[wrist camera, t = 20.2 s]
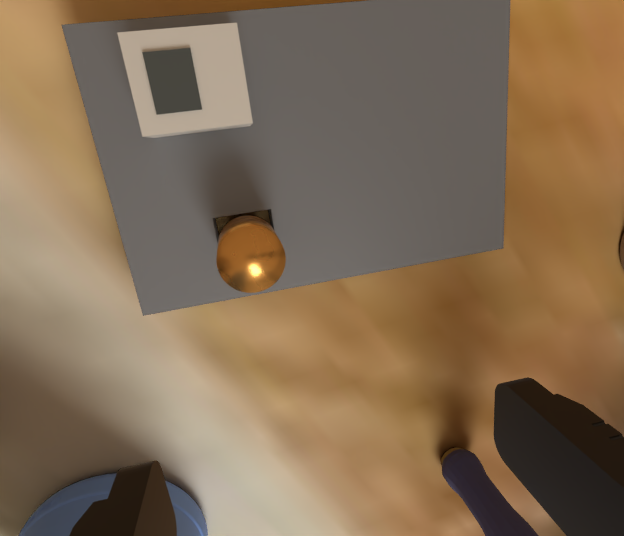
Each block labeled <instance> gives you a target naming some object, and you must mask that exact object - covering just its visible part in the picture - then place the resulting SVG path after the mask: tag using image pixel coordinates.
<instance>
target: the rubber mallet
mask: <svg viewBox="0 0 624 536" xmlns="http://www.w3.org/2000/svg"><path fill="white" fill-rule="evenodd" d="M441 465H442V474H443V477H444V478H445V480H446V481H447V483H448V484H449V486H450V487H451V488H452V489H453V490H454V491H455V492H456V493H458V494H459V496H460V497H461V498H462V499H463V501H464V502H465V504H466V505H467V507H468V508H469V510H470V511H471V512H472V514H473V515H474V517H475V518H476V520H477V521H478V523H479V525H480V526H481V528H482V530H483V532H484V534H485V536H538V535H537V533H536V532H535V531H534V530H533V528H532V527H531V526H530V525H529V524H528V523H527V522H526V521H525V520H524V519H523V518H522V517H521V516H520V515H519V514H518V513H517V512H516V511H515V510H514V509H513V508H512V507H511V505H510V504H509V503H508V502H507V501H506V499H505V498H504V497H503V495H502V494H501V493H500V492H499V490H498V489H497V488H496V486H495V485H494V484H493V483H492V481H491V480H490V479H489V477H488V476H487V475H486V472H485V470H484V468H483V466H482V464H481V462H480V461H479V459H478V458H477V457H476V455H475V454H474V453H472V452H470V451H467V450H465V449H462V448H458V447H455V448H452V449H450V450H448V451H447V452H445V454H444V455H443V457H442V459H441Z"/></svg>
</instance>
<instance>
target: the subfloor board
mask: <svg viewBox="0 0 624 536" xmlns="http://www.w3.org/2000/svg"><path fill="white" fill-rule="evenodd" d="M225 23H237V27H238V33H239V39H240V45H241V52H242V58H243V64H244V71H245V77H246V83H247V89H248V96H249V102H250V108H251V114H252V121H253V124H252V125H251V126H247V127H239V128H231V129H223V130H215V131H207V132H199V133H190V134H182V135H174V136H166V137H158V138H149V137H142V133H141V129H140V125H139V120H138V116H137V112H136V108H135V104H134V100H133V96H132V92H131V88H130V84H129V79H128V75H127V71H126V67H125V63H124V59H123V55H122V51H121V47H120V42H119V38H118V34H117V33H118V32H129V31H141V30H153V29H165V28H177V27H189V26H201V25H213V24H225ZM62 28H63V32H64V35H65V39H66V43H67V46H68V50H69V53H70V57H71V60H72V64H73V68H74V71H75V75H76V78H77V82H78V85H79V89H80V92H81V96H82V100H83V103H84V107H85V110H86V114H87V117H88V121H89V125H90V128H91V132H92V135H93V139H94V142H95V146H96V150H97V153H98V157H99V160H100V164H101V167H102V171H103V174H104V178H105V182H106V185H107V189H108V192H109V196H110V199H111V203H112V207H113V210H114V214H115V217H116V221H117V224H118V228H119V231H120V235H121V239H122V242H123V246H124V249H125V253H126V256H127V260H128V264H129V267H130V271H131V274H132V278H133V281H134V285H135V288H136V292H137V296H138V299H139V303H140V306H141V310H142V313H143V316H144V315H149V314H155V313H160V312H165V311H171V310H176V309H181V308H187V307H192V306H197V305H203V304H208V303H213V302H219V301H224V300H229V299H235V298H240V297H245V296H251V295H256V294H262V293H267V292H272V291H278V290H283V289H288V288H294V287H299V286H304V285H310V284H315V283H320V282H326V281H331V280H336V279H342V278H347V277H353V276H358V275H363V274H369V273H374V272H379V271H385V270H390V269H395V268H401V267H406V266H411V265H417V264H422V263H427V262H433V261H438V260H443V259H449V258H454V257H460V256H465V255H470V254H476V253H481V252H486V251H492V250H497V249H502V248H503V242H504V207H505V171H506V135H507V99H508V64H509V28H510V0H368V1H355V2H343V3H330V4H317V5H305V6H292V7H280V8H267V9H254V10H242V11H229V12H217V13H204V14H192V15H179V16H166V17H154V18H141V19H129V20H116V21H103V22H91V23H78V24H66V25H62ZM262 210H268V212H269V219H270V225H271V226H272V228H273V229H274V231H275V233H276V235H277V236H278V238H279V240H280V242H281V244H282V245H283V248H284V251H285V256H286V263H285V268H284V271H283V273H282V275H281V277H280V278H279V280H278V281H277V282H276V283H275V284H274V285H272V286H271V287H270V288H268V289H266V290H264V291H260V292H255V293H246V292H241V291H238V290H236V289H234V288H232V287H230V286H229V285H228V284H227V283H226V282H225V281H224V280H223V279H222V277H221V276H220V274H219V271H218V268H217V262H216V258H217V248H218V239H219V234H218V229H217V224H216V219H215V218H217V217H223V216H230V215H236V214H242V213H249V212H255V211H262Z"/></svg>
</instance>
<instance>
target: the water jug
mask: <svg viewBox="0 0 624 536" xmlns="http://www.w3.org/2000/svg"><path fill="white" fill-rule="evenodd" d="M116 474H117V473H114V474H105V475H100V476H95V477H91V478H88V479H85V480H82V481H79V482H76V483H74V484H72V485H70V486H68V487H66V488H64V489H62V490H60V491H59V492H57V493H55V494H54V495H53V496H51V497H50V498H49V499H47V500H46V501H45V502H44V503H43V504H41V505H40V506H39V507H38V508H37V509H36V511H35V512H34V513H33V514H32V515H31V517H30V518H29V519H28V521H27V522H26V524H25V526H24V527H23V528H22V530H21V532H20V534H19V536H69V535H70V533H71V531H72V528H73V527H74V525H75V524H76V523H77V522H78V520H79V519H80V518H81V517H82V515H83V514H84V513H85V512H86V510H87V509H88V508H89V507H90V506H91V504H92V503H93V502H95V501H100V500H104V499H108V496H109V493H110V491H111V488H112V485H113V482H114V480H115V477H116ZM165 482H166V485H167V489H168V492H169V496H170V499H171V502H172V506H173V509H174V513H175V517H176V526H177V536H208V532H207V525H206V522H205V518H204V516H203V514H202V512H201V510H200V508H199V507H198V505H197V504H196V502H195V501H194V500H193V499H192V498H191V497H190V496H189V495H188V494H187V493H186V492H184V491H183V490H182V489H180V488H179V487H177V486H175V485H174V484H172V483H170V482H167V481H165Z"/></svg>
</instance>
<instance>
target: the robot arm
mask: <svg viewBox="0 0 624 536" xmlns="http://www.w3.org/2000/svg"><path fill="white" fill-rule="evenodd" d="M620 258H621V264H622V266H623V268H624V233H623V236H622V240H621V245H620ZM494 440H495V444H496V448H497V450H498V452H499V454H500V456H501V458H502V460H503V461H504V462H505V464H506V465H507V466H508V467H509V468H510V470H511V471H512V472H513V473H514V474H515V476H516V477H517V478H518V479H519V480H520V481H521V483H522V484H523V485H524V486H525V487H526V488H527V490H528V491H529V492H530V493H531V494H532V495H533V497H534V498H535V499H536V500H537V501H538V503H539V504H540V505H541V506H542V507H543V508H544V510H545V511H546V512H547V513H548V514H549V515H550V517H551V518H552V519H553V520H554V521H555V523H556V524H557V525H558V526H559V527H560V528H561V530H562V531H563V532H564V533H565V534H566V535H567V536H624V437H623V436H622V434H621V433H620V432H618V431H617V430H616V429H614V428H613V427H612V426H610V425H609V424H605V423H604V420H602V419H601V418H600V417H598V416H597V415H596V414H594V413H593V412H592V411H590V410H589V409H588V408H586V407H585V406H584V405H582V404H579V403H577V402H575V401H573V400H570V399H568V398H566V397H564V396H561V395H559V394H555V395H553V394H552V393H551V392H549V391H548V390H547V389H546V388H544V387H543V386H542V385H540V384H539V383H538V382H537V381H535V380H534V379H532V378H523V379H518V380H514V381H510V382H505V383H501V384H498V385H497V387H496V389H495V408H494ZM69 536H177V526H176V517H175V513H174V509H173V506H172V502H171V499H170V496H169V492H168V489H167V485H166V482H165V479H164V475H163V472H162V469H161V466H160V464H159V462H158V461H152V462H148V463H143V464H139V465H135V466H130V467H126V468H122V469H120V470H119V471H118V472H117V474H116V477H115V480H114V482H113V485H112V488H111V491H110V493H109V496H108V499H104V500H100V501H95V502H93V503H92V504H91V506H90V507H89V508H88V509H87V510H86V512H85V513H84V514H83V515H82V517H81V518H80V519H79V520H78V522H77V523H76V524H75V525H74V527H73V528H72V531H71V533H70V535H69Z"/></svg>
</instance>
